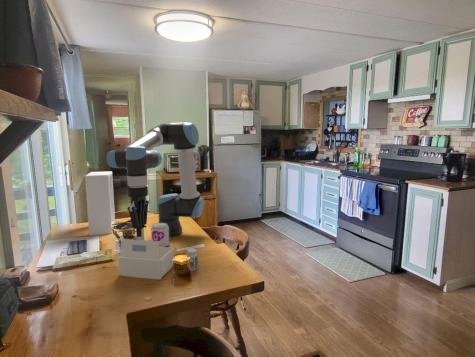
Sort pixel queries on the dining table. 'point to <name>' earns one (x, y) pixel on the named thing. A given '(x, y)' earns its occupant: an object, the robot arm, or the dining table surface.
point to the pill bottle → (193, 259)
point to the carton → (147, 265)
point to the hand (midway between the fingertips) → (140, 243)
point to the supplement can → (160, 234)
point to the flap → (139, 249)
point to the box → (100, 202)
